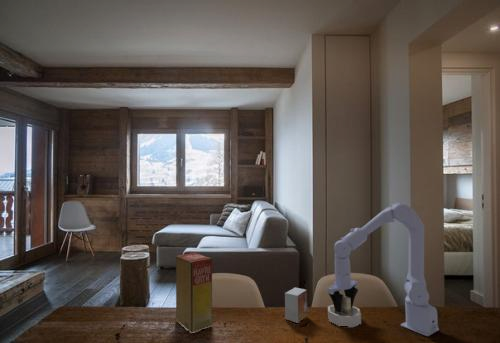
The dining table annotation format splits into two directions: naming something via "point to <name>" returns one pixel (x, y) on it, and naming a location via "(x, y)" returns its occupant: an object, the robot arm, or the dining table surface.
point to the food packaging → (194, 291)
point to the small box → (296, 304)
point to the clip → (343, 313)
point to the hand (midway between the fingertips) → (343, 309)
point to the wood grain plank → (346, 305)
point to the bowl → (344, 317)
